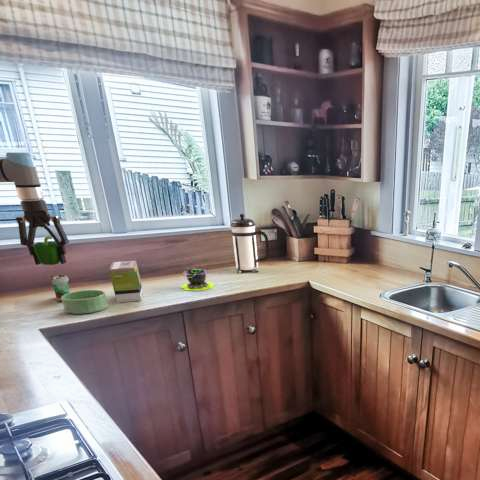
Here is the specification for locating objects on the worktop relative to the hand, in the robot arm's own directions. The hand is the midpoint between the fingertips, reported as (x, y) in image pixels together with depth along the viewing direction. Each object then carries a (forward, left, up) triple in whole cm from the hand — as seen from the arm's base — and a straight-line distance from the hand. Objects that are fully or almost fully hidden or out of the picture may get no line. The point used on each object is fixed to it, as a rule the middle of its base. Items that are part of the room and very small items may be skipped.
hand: (51, 263), depth 176 cm
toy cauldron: (+44, +37, -20) cm, 61 cm away
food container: (-9, +22, -20) cm, 31 cm away
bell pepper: (0, 0, 0) cm, 1 cm away
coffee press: (+66, +70, -20) cm, 98 cm away
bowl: (+6, +5, -20) cm, 21 cm away
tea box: (+18, +21, -20) cm, 34 cm away
